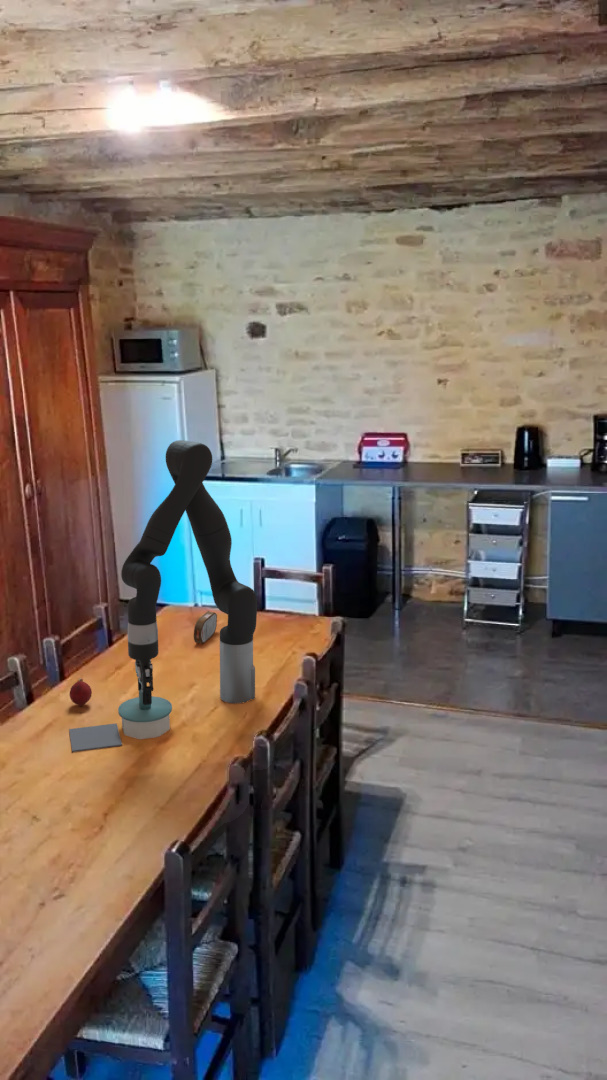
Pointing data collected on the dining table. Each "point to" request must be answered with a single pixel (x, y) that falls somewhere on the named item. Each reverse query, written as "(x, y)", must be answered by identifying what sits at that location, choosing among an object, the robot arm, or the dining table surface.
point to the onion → (80, 692)
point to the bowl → (146, 728)
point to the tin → (205, 627)
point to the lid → (144, 709)
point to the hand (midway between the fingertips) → (144, 697)
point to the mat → (95, 737)
